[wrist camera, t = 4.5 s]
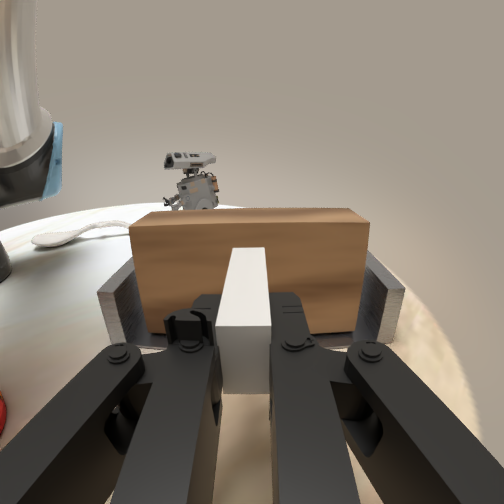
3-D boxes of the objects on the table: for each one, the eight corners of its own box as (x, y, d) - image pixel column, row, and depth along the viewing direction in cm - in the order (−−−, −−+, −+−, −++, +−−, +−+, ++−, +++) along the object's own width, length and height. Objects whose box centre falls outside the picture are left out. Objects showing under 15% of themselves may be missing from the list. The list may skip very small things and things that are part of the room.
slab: (354, 330, 22) (369, 222, 19) (148, 332, 22) (128, 226, 19) (339, 301, 27) (348, 208, 24) (164, 303, 27) (151, 211, 24)
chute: (391, 342, 21) (405, 288, 19) (112, 344, 21) (96, 291, 19) (342, 267, 36) (345, 229, 34) (163, 269, 36) (158, 232, 34)
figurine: (163, 222, 61) (158, 154, 56) (213, 215, 65) (210, 150, 60) (166, 232, 53) (160, 153, 48) (224, 224, 57) (221, 149, 52)
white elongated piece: (178, 237, 51) (176, 218, 50) (27, 255, 43) (23, 238, 42) (177, 225, 59) (175, 209, 58) (43, 242, 51) (40, 227, 50)
